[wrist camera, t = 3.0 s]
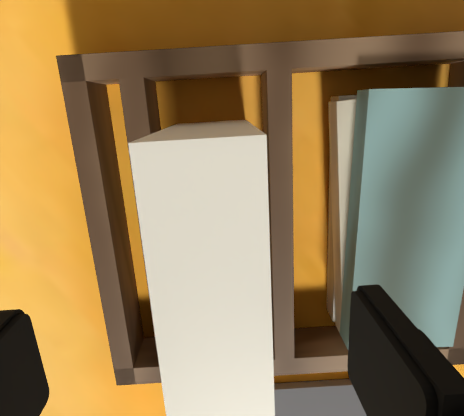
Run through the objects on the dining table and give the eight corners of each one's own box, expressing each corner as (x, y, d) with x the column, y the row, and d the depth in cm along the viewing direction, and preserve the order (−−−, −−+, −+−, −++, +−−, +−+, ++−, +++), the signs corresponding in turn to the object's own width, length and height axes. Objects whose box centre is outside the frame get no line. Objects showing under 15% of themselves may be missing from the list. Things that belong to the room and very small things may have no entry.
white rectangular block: (245, 119, 21) (266, 134, 10) (253, 299, 24) (275, 451, 14) (177, 123, 21) (128, 143, 10) (195, 303, 24) (172, 458, 14)
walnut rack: (474, 39, 20) (517, 27, 17) (438, 334, 25) (465, 363, 22) (81, 62, 20) (56, 55, 17) (129, 353, 25) (116, 385, 22)
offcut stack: (442, 86, 20) (500, 80, 16) (419, 306, 24) (461, 349, 20) (321, 93, 20) (346, 90, 16) (318, 312, 24) (338, 357, 20)
